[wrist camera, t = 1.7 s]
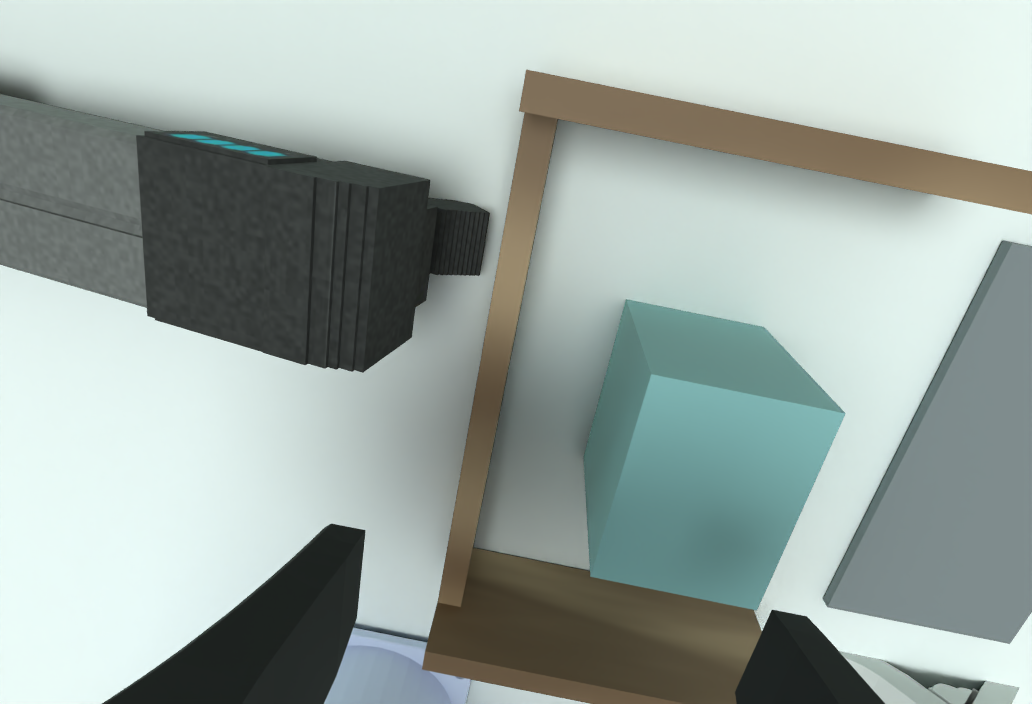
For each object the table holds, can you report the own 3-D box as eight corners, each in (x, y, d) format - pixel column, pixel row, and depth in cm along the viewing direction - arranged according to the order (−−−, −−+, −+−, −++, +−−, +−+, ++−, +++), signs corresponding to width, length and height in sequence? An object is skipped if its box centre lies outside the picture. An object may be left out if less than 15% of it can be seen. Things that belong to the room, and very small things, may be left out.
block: (706, 481, 21) (757, 610, 16) (583, 456, 21) (590, 576, 16) (763, 326, 19) (845, 413, 14) (626, 298, 19) (651, 374, 14)
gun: (495, 312, 19) (250, 440, 11) (83, 180, 25) (-285, 192, 17) (519, 169, 18) (251, 182, 9) (71, 66, 24) (-343, 13, 15)
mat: (1002, 635, 23) (1009, 643, 22) (822, 599, 23) (827, 606, 22) (1236, 287, 17) (1251, 291, 17) (1002, 240, 17) (1012, 243, 17)
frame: (744, 618, 23) (788, 743, 19) (449, 559, 23) (421, 669, 19) (945, 164, 17) (1090, 183, 12) (536, 81, 17) (526, 70, 12)
